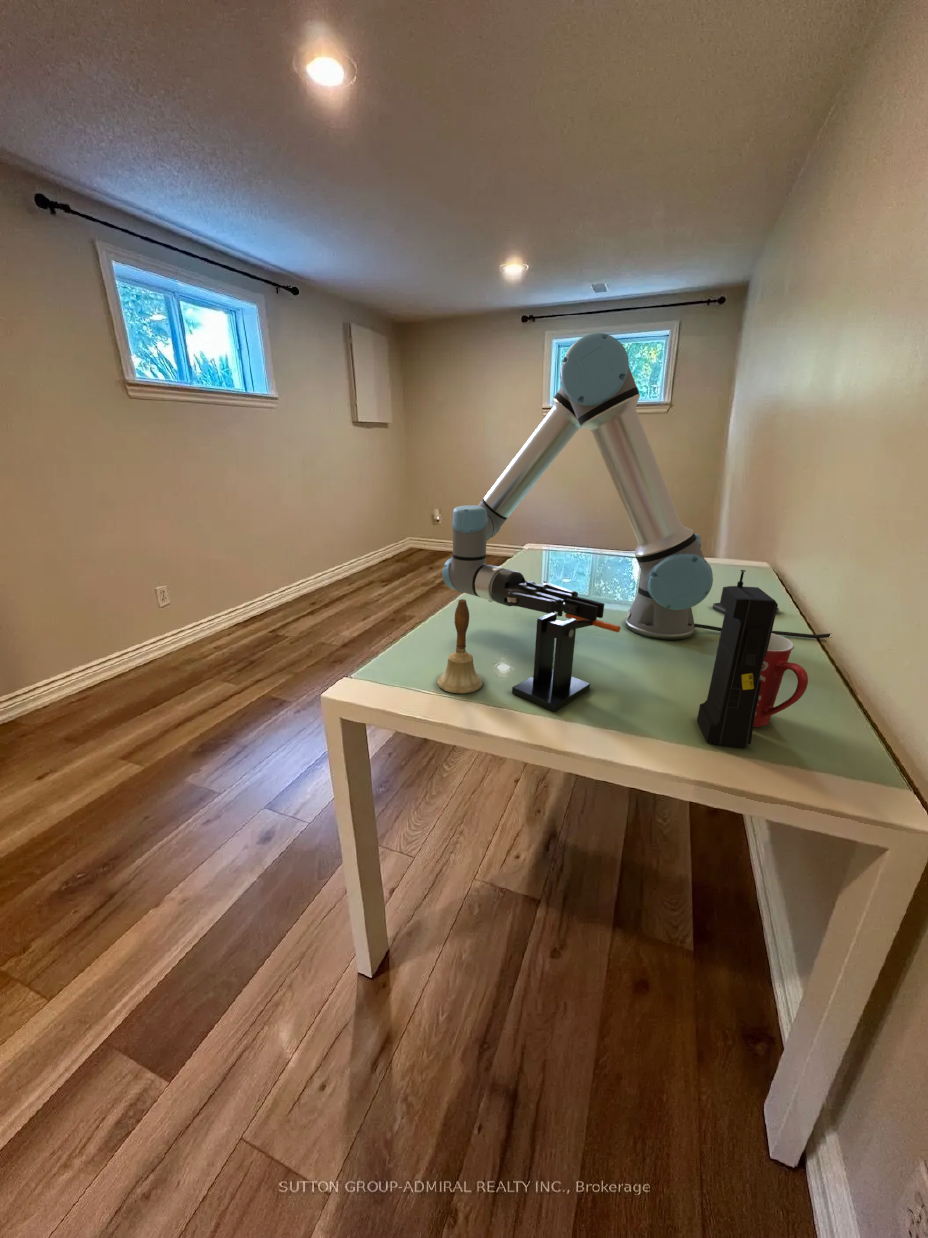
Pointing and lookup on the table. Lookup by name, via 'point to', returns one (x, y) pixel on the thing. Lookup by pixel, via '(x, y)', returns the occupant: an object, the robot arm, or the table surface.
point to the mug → (777, 679)
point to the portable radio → (738, 666)
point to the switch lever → (579, 625)
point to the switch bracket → (547, 683)
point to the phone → (720, 608)
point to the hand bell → (460, 659)
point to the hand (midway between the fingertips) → (599, 612)
